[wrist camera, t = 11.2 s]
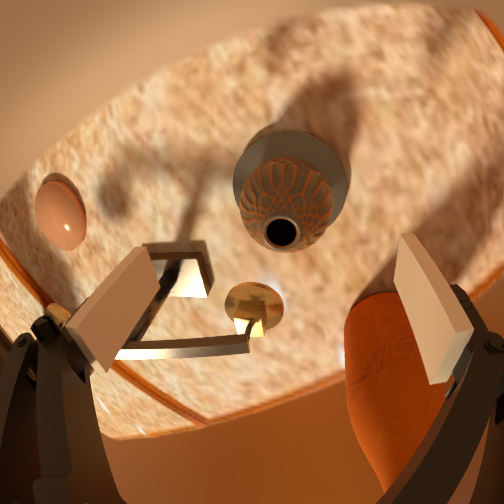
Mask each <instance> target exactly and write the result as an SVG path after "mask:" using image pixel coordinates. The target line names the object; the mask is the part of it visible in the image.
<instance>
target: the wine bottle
mask: <svg viewBox="0 0 504 504" xmlns="http://www.w3.org/2000/svg"><path fill="white" fill-rule="evenodd" d="M344 349H345V374H346V396H347V406H348V412H349V417H350V420H351V424H352V426H353V429H354V432H355V434H356V437H357V439H358V441H359V444H360V446H361V448H362V450H363V452H364V453H365V455H366V457H367V459H368V460H369V462H370V464H371V466H372V467H373V469H374V471H375V473H376V475H377V477H378V479H379V481H380V483H381V485H382V489H383V491H384V494H385V492H386V491H387V490H388V489H389V487H390V486H391V485H392V484H393V482H394V481H395V480H396V478H397V477H398V476H399V474H400V473H401V472H402V470H403V469H404V468H405V466H406V465H407V463H408V462H409V461H410V459H411V458H412V456H413V455H414V453H415V452H416V450H417V449H418V447H419V445H420V444H421V442H422V441H423V439H424V437H425V436H426V434H427V432H428V431H429V429H430V427H431V425H432V424H433V422H434V420H435V418H436V416H437V415H438V413H439V411H440V409H441V407H442V405H443V403H444V401H445V386H444V382H442V383H437V384H432V385H430V384H429V380H428V377H427V373H426V370H425V367H424V363H423V360H422V357H421V354H420V351H419V348H418V345H417V342H416V339H415V336H414V333H413V330H412V327H411V324H410V322H409V319H408V316H407V314H406V311H405V308H404V306H403V303H402V301H401V298H400V296H399V293H396V292H383V293H378V294H375V295H372V296H369V297H367V298H366V299H364V300H362V301H361V302H360V303H358V304H357V305H356V306H355V307H354V308H353V309H352V310H351V312H350V313H349V315H348V317H347V319H346V322H345V326H344Z"/></svg>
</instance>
